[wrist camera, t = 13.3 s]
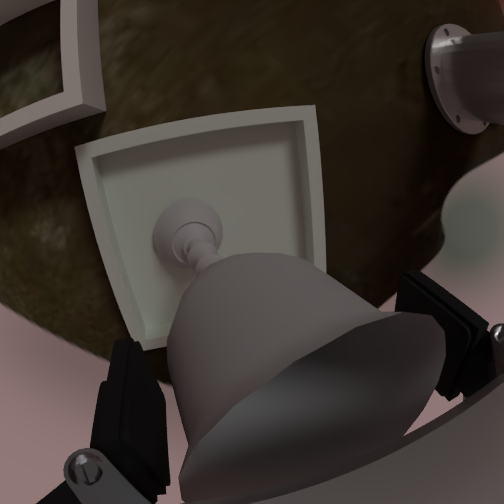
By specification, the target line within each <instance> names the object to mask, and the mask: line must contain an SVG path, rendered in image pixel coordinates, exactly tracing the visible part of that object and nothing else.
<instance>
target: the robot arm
mask: <svg viewBox="0 0 504 504" xmlns="http://www.w3.org/2000/svg"><path fill="white" fill-rule="evenodd" d="M425 69H426V75H427V80H428V84H429V87H430V90H431V93H432V96H433V98H434V101H435V103H436V105H437V107H438V109H439V111H440V112H441V114H442V116H443V117H444V118H445V119H446V121H447V122H448V123H449V124H450V125H451V126H452V127H453V128H454V129H456V130H458V131H460V132H462V133H466V134H478V133H481V132H482V131H483V130H485V129H486V127H487V126H488V125H489V123H495V124H502V125H504V32H494V33H483V34H474V35H471V34H470V33H469V32H468V31H466V30H465V29H464V28H462V27H460V26H458V25H454V24H445V25H441V26H438V27H436V28H435V29H433V31H432V32H431V33H430V35H429V37H428V39H427V42H426V48H425ZM394 312H407V313H416V314H424V315H432V317H433V318H434V319H435V320H436V322H437V323H438V324H439V325H440V326H441V328H442V329H443V330H444V331H445V346H446V357H445V360H444V364H443V368H442V371H441V374H440V378H439V381H438V383H437V385H436V387H435V390H436V391H437V392H438V393H439V394H440V395H441V396H445V397H446V399H447V400H448V401H451V400H452V399H454V398H455V397H457V396H458V395H459V394H460V392H461V393H462V394H463V402H461V403H460V404H458V405H457V406H455V407H454V408H452V409H450V410H449V411H447V412H446V413H444V414H443V415H441V416H439V417H437V418H436V419H434V420H432V421H430V422H429V423H427V424H426V425H424V426H422V427H420V428H418V429H416V430H414V431H412V432H411V433H409V434H407V435H405V436H403V437H401V438H399V439H397V440H395V441H393V442H391V443H389V444H387V445H385V446H383V447H380V448H378V449H376V450H374V451H372V452H369V453H367V454H365V455H362V456H360V457H358V458H355V459H353V460H350V461H348V462H345V463H343V464H340V465H337V466H335V467H332V468H329V469H327V470H324V471H321V472H318V473H315V474H312V475H309V476H306V477H303V478H299V479H296V480H293V481H289V482H286V483H282V484H279V485H275V486H271V487H267V488H263V489H259V490H254V491H250V492H245V493H241V494H236V495H231V496H226V497H220V498H215V499H209V500H202V501H195V502H189V503H183V504H504V324H496V325H494V326H493V327H492V328H491V330H490V332H488V331H487V328H488V325H489V323H488V322H487V321H486V320H484V319H483V318H482V317H481V316H479V315H478V314H477V313H476V312H474V311H473V310H472V309H470V308H469V307H468V306H467V305H465V304H464V303H463V302H461V301H460V300H459V299H457V298H456V297H455V296H453V295H452V294H450V293H449V292H448V291H447V290H445V289H444V288H443V287H441V286H440V285H439V284H437V283H436V282H434V281H433V280H432V279H430V278H429V277H428V276H426V275H425V274H423V273H422V272H421V271H419V270H417V269H414V270H411V271H408V272H405V273H403V274H402V276H401V278H400V279H399V282H398V290H397V298H396V305H395V311H394ZM63 471H64V477H65V479H66V480H65V481H64V482H63V483H61V484H60V485H59V486H58V487H57V488H56V489H54V490H53V491H52V492H50V493H49V494H48V495H46V496H45V497H44V498H43V499H41V500H40V501H39V502H38V503H36V504H155V503H156V502H157V501H158V500H157V495H163V494H166V486H170V470H169V458H168V443H167V424H166V402H165V397H164V394H163V392H162V390H161V388H160V386H159V384H158V382H157V379H156V377H155V375H154V373H153V371H152V369H151V366H150V364H149V362H148V360H147V357H146V355H145V353H144V351H143V348H142V346H141V344H140V342H139V341H134V339H133V338H125V339H119V340H116V341H115V343H114V347H113V352H112V356H111V361H110V366H109V371H108V377H107V381H103V382H102V383H101V384H100V388H99V393H98V398H97V404H96V409H95V415H94V422H93V428H92V435H91V442H90V448H84V449H79V450H77V451H76V452H74V453H72V454H71V455H70V456H69V458H68V459H67V461H66V462H65V465H64V470H63Z"/></svg>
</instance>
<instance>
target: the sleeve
mask: <svg viewBox="0 0 504 504" xmlns="http://www.w3.org/2000/svg"><path fill="white" fill-rule="evenodd" d="M51 1H54V0H0V26H1V25H2V24H4V23H6V22H8V21H10V20H12V19H14V18H16V17H18V16H20V15H22V14H24V13H26V12H28V11H30V10H33V9H35V8H37V7H39V6H42V5H44V4H46V3H49V2H51ZM60 37H61V61H62V75H63V87H64V92H62V93H59V94H56V95H54V96H51V97H48V98H46V99H43V100H41V101H38V102H36V103H33V104H31V105H29V106H26V107H24V108H22V109H20V110H17V111H15V112H13V113H11V114H9V115H7V116H4V117H2V118H0V150H1V149H3V148H5V147H8V146H10V145H12V144H14V143H17V142H19V141H22V140H24V139H26V138H29V137H31V136H34V135H36V134H39V133H41V132H44V131H47V130H49V129H52V128H55V127H58V126H61V125H64V124H66V123H69V122H72V121H76V120H79V119H82V118H85V117H88V116H92V115H95V114H98V113H102V112H105V111H106V104H105V96H104V88H103V79H102V69H101V58H100V45H99V28H98V0H61V9H60Z"/></svg>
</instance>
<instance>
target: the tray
mask: <svg viewBox="0 0 504 504" xmlns="http://www.w3.org/2000/svg"><path fill="white" fill-rule="evenodd" d="M75 152H76V157H77V162H78V167H79V172H80V177H81V182H82V186H83V190H84V195H85V199H86V203H87V207H88V211H89V215H90V218H91V222H92V226H93V229H94V233H95V236H96V240H97V243H98V246H99V250H100V253H101V256H102V259H103V262H104V266H105V269H106V272H107V275H108V278H109V280H110V283H111V286H112V289H113V292H114V295H115V297H116V300H117V303H118V305H119V308H120V311H121V313H122V316H123V318H124V321H125V323H126V326H127V328H128V331H129V333H130V336H131V338H133V339H134V341H139V342H140V344H141V346H142V348H143V351H144V350H150V349H155V348H160V347H165V346H167V338H168V335H169V332H170V329H171V326H172V323H173V320H174V317H175V314H176V312H177V309H178V306H179V303H180V301H181V298H182V295H183V293H184V292H185V291H186V289H187V288H188V286H189V285H190V284H191V282H192V281H193V280H194V278H195V277H196V275H195V271H194V270H193V269H191V268H180V267H176V266H173V265H171V264H169V263H168V262H166V261H164V260H163V258H162V257H161V256H160V255H159V253H158V252H157V250H156V247H155V244H154V232H153V231H154V228H155V224H156V221H157V219H158V218H159V216H160V215H161V214H162V212H163V211H164V210H165V209H166V208H168V207H169V206H170V205H172V204H173V203H176V202H179V201H182V200H198V201H201V202H205V203H206V204H208V205H209V206H210V207H212V208H213V209H214V210H215V211H216V213H217V214H218V216H219V217H220V219H221V223H222V227H223V237H222V241H221V244H220V247H219V249H218V251H217V252H218V256H220V257H221V258H222V259H224V258H227V257H229V256H232V255H236V254H246V253H282V254H286V255H290V256H294V257H298V258H302V259H305V260H307V261H308V262H310V263H311V264H313V265H314V266H316V267H317V268H319V269H320V270H322V271H323V272H325V273H326V245H325V221H324V202H323V186H322V172H321V160H320V148H319V137H318V127H317V118H316V109H315V105H310V106H292V107H278V108H267V109H256V110H247V111H239V112H231V113H223V114H216V115H210V116H203V117H197V118H191V119H186V120H180V121H175V122H170V123H165V124H160V125H155V126H151V127H146V128H142V129H138V130H133V131H129V132H125V133H121V134H117V135H114V136H110V137H106V138H103V139H99V140H95V141H92V142H89V143H85V144H82V145H79V146H76V147H75Z"/></svg>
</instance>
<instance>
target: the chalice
mask: <svg viewBox="0 0 504 504" xmlns="http://www.w3.org/2000/svg"><path fill="white" fill-rule="evenodd" d="M153 232H154V244H155V247H156V250H157V252H158V253H159V255H160V256H161V257H162V258H163V260H164V261H166V262H168V263H169V264H171V265H173V266H176V267H180V268H191V269H193V270H194V271H195V275H196V277H195V278H194V280H193V281H192V282H191V284H190V285H189V286H188V288H187V289H186V291H185V292H184V293H183V295H182V298H181V301H180V303H179V306H178V309H177V312H176V314H175V317H174V320H173V323H172V326H171V329H170V332H169V335H168V338H167V362H168V368H169V373H170V377H171V381H172V386H173V390H174V394H175V398H176V402H177V405H178V409H179V413H180V417H181V420H182V424H183V428H184V431H185V434H186V438H187V441H188V445H189V446H188V449H187V452H186V455H185V459H184V462H183V465H182V468H181V471H180V474H179V484H180V492H181V498H182V500H183V501H184V502H185V503H189V502H195V501H202V500H209V499H215V498H220V497H226V496H231V495H236V494H241V493H245V492H250V491H254V490H259V489H263V488H267V487H271V486H275V485H279V484H282V483H286V482H289V481H293V480H296V479H299V478H303V477H306V476H309V475H312V474H315V473H318V472H321V471H324V470H327V469H329V468H332V467H335V466H337V465H340V464H343V463H345V462H348V461H350V460H353V459H355V458H358V457H360V456H362V455H365V454H367V453H369V452H372V451H374V450H376V449H378V448H380V447H383V446H385V445H387V444H389V443H391V442H393V441H395V440H397V439H399V438H401V437H403V435H404V434H405V433H406V432H407V430H408V429H409V428H410V427H411V425H412V424H413V422H414V421H415V420H416V419H417V418H418V416H419V415H420V413H421V412H422V411H423V409H424V407H425V406H426V404H427V402H428V400H429V398H430V396H431V395H432V393H433V391H434V389H435V387H436V385H437V383H438V381H439V378H440V374H441V371H442V368H443V364H444V360H445V357H446V346H445V331H444V330H443V329H442V328H441V326H440V325H439V324H438V323H437V322H436V320H435V319H434V318H433V317H432V315H424V314H416V313H407V312H381V311H379V310H378V309H376V308H375V307H374V306H372V305H371V304H369V303H368V302H366V301H365V300H364V299H362V298H361V297H359V296H358V295H356V294H355V293H354V292H352V291H351V290H349V289H348V288H346V287H345V286H343V285H342V284H341V283H339V282H338V281H336V280H335V279H333V278H332V277H330V276H329V275H327V274H326V273H325V272H323V271H322V270H320V269H319V268H317V267H316V266H314V265H313V264H311V263H310V262H308V261H307V260H305V259H302V258H298V257H294V256H290V255H286V254H282V253H246V254H236V255H232V256H229V257H227V258H224V259H222V258H221V257H220V256H218V252H217V251H218V249H219V247H220V244H221V241H222V237H223V227H222V223H221V219H220V217H219V216H218V214H217V213H216V211H215V210H214V209H213V208H212V207H210V206H209V205H208V204H206V203H205V202H201V201H198V200H182V201H179V202H176V203H173V204H172V205H170V206H169V207H168V208H166V209H165V210H164V211H163V212H162V214H161V215H160V216H159V218H158V219H157V221H156V224H155V228H154V231H153Z"/></svg>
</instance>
